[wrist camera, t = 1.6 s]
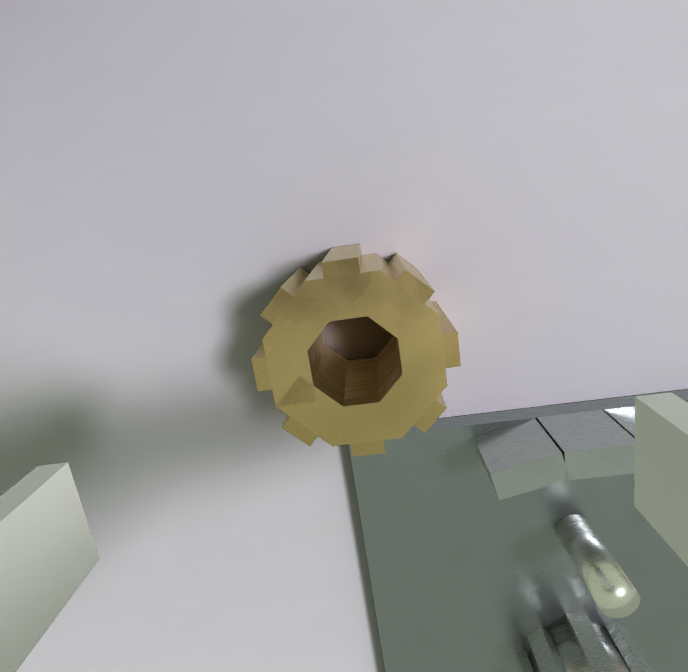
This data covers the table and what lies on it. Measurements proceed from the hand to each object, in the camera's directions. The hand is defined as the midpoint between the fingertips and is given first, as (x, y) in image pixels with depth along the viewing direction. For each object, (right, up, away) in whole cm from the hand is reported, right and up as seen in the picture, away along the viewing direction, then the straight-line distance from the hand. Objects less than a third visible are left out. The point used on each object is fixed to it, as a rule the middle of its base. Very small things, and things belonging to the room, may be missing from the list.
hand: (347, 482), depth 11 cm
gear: (+1, +4, +14) cm, 14 cm away
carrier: (+12, -10, +17) cm, 23 cm away
